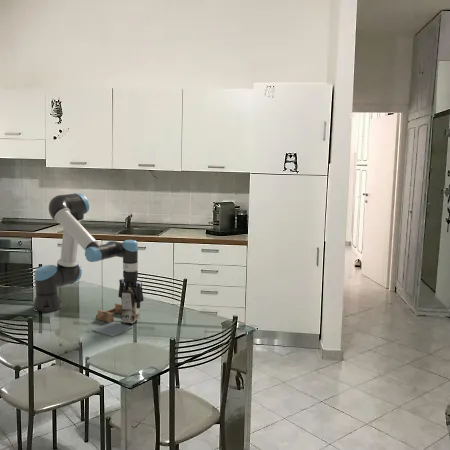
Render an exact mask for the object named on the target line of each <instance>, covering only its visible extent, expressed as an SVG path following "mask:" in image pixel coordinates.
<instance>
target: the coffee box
mask: <svg viewBox="0 0 450 450" xmlns="http://www.w3.org/2000/svg"><path fill="white" fill-rule="evenodd" d="M135 302H136V300H135V292H133V291H132V290H131V288H129V289H128V290H125V291H124V292H122V299H121V304H122V314H121V322H122V323H127V324H134V323H135V322H137V320H138V319H140V308H141V307H140V308H139V314H137V315H135Z"/></svg>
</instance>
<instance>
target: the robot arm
mask: <svg viewBox="0 0 450 450" xmlns="http://www.w3.org/2000/svg"><path fill="white" fill-rule="evenodd" d="M89 210H90V203H89V199H88V198H87V197H86V196H85V195H84V194H83V193H77V192H75V193H69V194H59V195H56V196H54V197H53V198H52V199H50V202H49V203H48V213H49V215H50V217H51V219H52V220H53V221H54V222H55V223H58V224H60V226H61V227H63V231H62V242H61V250H60V251H61V252H60V258H59V259H58V260H57V263H56V265H55V264H48V265H42V266H40V267H37V268H36V270H35V272H34V283H35V284H34V286H35V288H34V289H35V298H34V302H33V304H32V310H33V309H35V310H37V311H41V312H40V313H50V311H52V312H55V310H56V311H58V310H61V308H62V307H63V306H62V305H63V303H62V301H61V298H60V296H59V292H58V290H59V289H58V288H60V287H64V286H68V285H72V284H73V285H74V284H75V283H76V282H79V281H80V279H81V277H82V273H83V270H82V269H81V267H82V266H81V265H80V263H79V261H78V260H77V257H78V256H77V255H78V245H79V246H80V247H81V248H82V249H83V250H84V256H85V259H86V260H87V261H88V262H90V263H96V262H99V261H104V260H106V259H112V258H115V257H117V258H121V259H122V278H121V279H119V280H118V281H119V288H118V298H120V299H121V300H122V292H124V291H125V290H128V289H129V288H131V290H132V291H133V292H135V300H136V302H135V315H137V314H139V308H141V302H144V293H143V282H140V281H138V277H139V270H138V269H139V264H138V263H139V261H138V259H139V258H138V257H139V256H138V254H139V253H138V251H139V247H138V242H137V240H134V239H125V240H123V241H122V242H121V241H120V242H119V241H117V240H108V241H107V242H106V243H105V244H103V243H102V244H100V243H99V242H98V241H97V239H95V237H94V236H93V235H91V233H90V232H89V231H88V230H87V229H86V228H85V227H84V226H83V225H82V224H81V221H83V220H84V215H85V214H87V213H88V212H89ZM37 311H36V312H37Z"/></svg>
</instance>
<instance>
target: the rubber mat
mask: <svg viewBox="0 0 450 450" xmlns="http://www.w3.org/2000/svg"><path fill="white" fill-rule="evenodd" d="M133 328H134V327H133V326H131V325H126V324H124V323H120V322H116V321H114V322H107V323H105V324H103V325H100V326H98V327H95V328H94V329H92V330H93V331H92V332H95V331H96V332H95V333H99V334H103V335H105V336H109V337H112V338H113V337H114V338H115V337H116V336H118V335H121V334H123V333H124V332H127V331H129V330H132V329H133Z"/></svg>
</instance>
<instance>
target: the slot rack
mask: <svg viewBox="0 0 450 450" xmlns="http://www.w3.org/2000/svg"><path fill="white" fill-rule="evenodd" d="M114 305H115V306H114V307H113V308H111V309H108V310H102V309H98V310H97V314H96V315H95V319H96V318H97V320H99V319H100V321H102V320H103V322H107V323H109V322H115V321H114V313H118V314H120V315H122V303H115V304H114Z"/></svg>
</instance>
